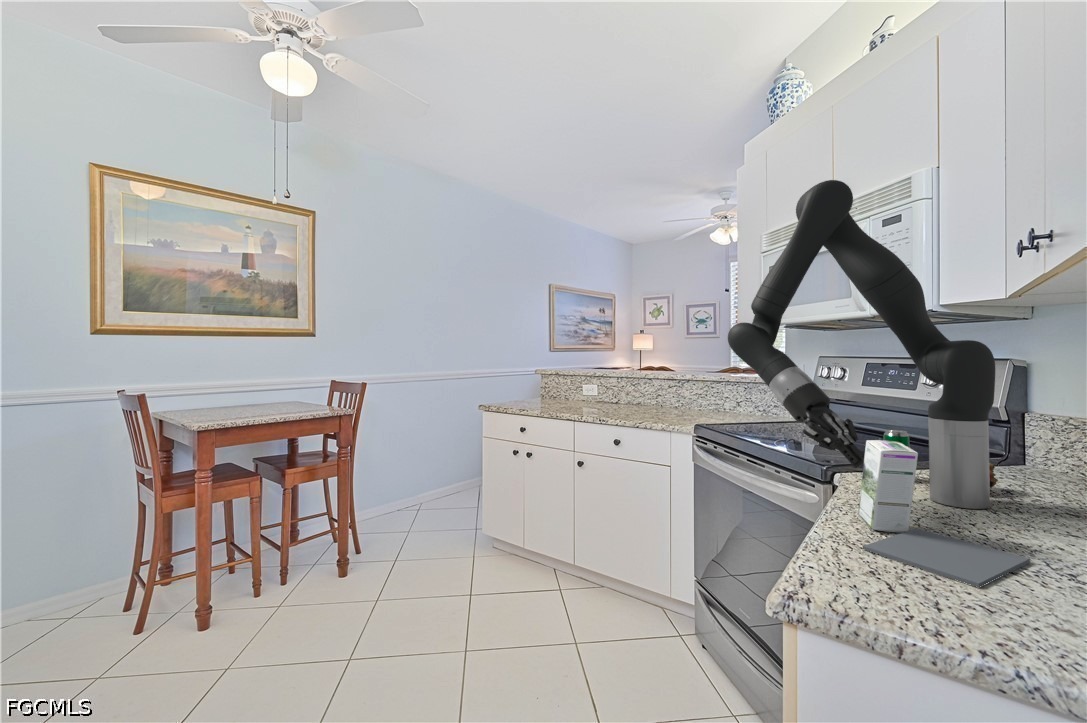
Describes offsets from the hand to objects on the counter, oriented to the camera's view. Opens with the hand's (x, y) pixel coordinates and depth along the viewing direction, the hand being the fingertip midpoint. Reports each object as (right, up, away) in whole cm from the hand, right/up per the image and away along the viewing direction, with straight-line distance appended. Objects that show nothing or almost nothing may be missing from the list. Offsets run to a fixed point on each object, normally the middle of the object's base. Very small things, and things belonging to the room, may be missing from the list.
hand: (862, 464), depth 84 cm
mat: (+2, -10, -15) cm, 18 cm away
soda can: (+29, -11, +30) cm, 43 cm away
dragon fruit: (+38, -10, +19) cm, 44 cm away
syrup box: (+2, -10, -2) cm, 11 cm away
